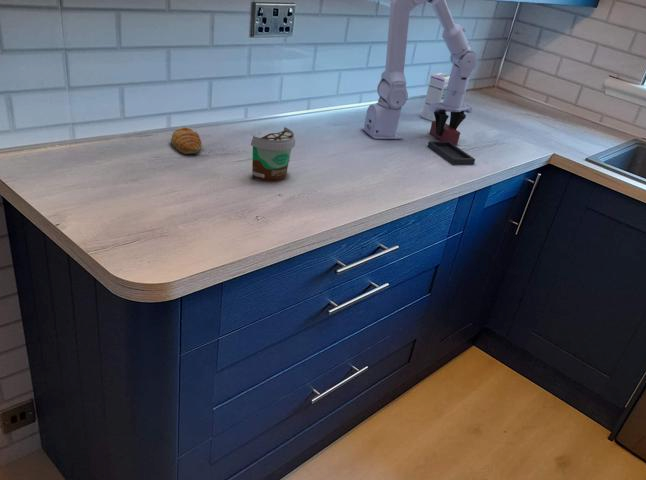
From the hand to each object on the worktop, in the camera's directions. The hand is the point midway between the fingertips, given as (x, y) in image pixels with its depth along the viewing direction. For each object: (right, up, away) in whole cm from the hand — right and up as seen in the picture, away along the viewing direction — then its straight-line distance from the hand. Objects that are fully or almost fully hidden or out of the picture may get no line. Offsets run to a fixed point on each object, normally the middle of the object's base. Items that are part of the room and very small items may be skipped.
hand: (444, 134), depth 185 cm
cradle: (0, -9, -11) cm, 14 cm away
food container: (-47, -23, -47) cm, 70 cm away
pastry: (-69, -15, -41) cm, 81 cm away
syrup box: (-1, +10, +18) cm, 21 cm away
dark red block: (0, -1, +1) cm, 1 cm away
